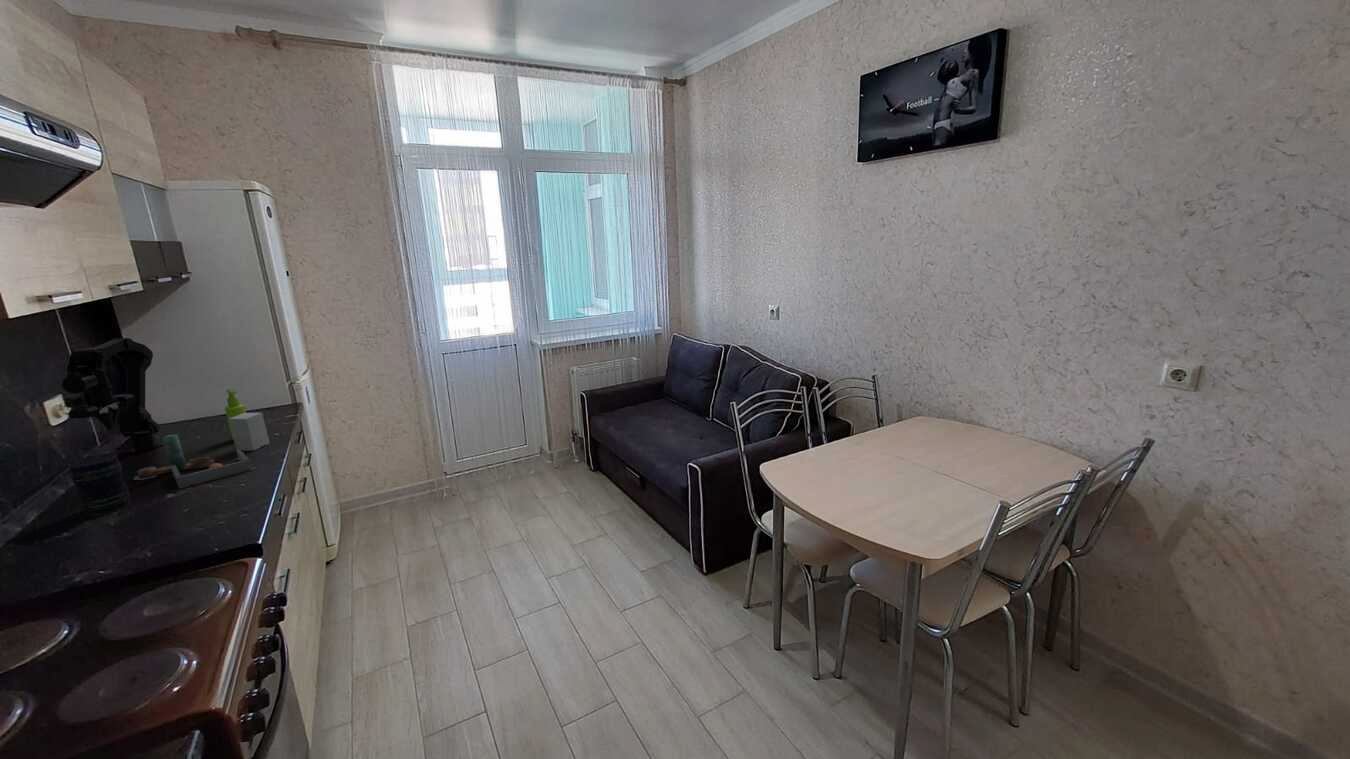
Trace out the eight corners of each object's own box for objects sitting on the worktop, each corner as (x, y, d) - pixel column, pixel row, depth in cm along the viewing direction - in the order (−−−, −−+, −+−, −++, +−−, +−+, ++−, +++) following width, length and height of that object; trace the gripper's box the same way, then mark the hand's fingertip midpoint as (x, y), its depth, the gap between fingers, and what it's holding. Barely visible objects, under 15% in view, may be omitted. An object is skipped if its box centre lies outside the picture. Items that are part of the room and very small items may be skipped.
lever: (137, 479, 174) (126, 444, 171) (141, 474, 178) (131, 440, 175) (212, 466, 183) (203, 432, 180) (215, 461, 187) (206, 429, 184)
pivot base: (137, 482, 173) (137, 481, 172) (130, 477, 176) (130, 477, 176) (166, 474, 178) (165, 473, 178) (158, 470, 182) (158, 469, 182)
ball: (213, 462, 178) (214, 459, 175) (226, 468, 180) (228, 465, 177) (204, 473, 176) (205, 470, 173) (217, 478, 177) (219, 476, 175)
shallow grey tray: (173, 475, 177) (170, 466, 176) (242, 458, 190) (240, 449, 189) (179, 488, 167) (176, 478, 166) (251, 469, 181) (249, 459, 180)
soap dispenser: (236, 442, 205) (223, 392, 200) (230, 439, 209) (218, 390, 204) (254, 438, 210) (243, 389, 205) (249, 434, 214) (237, 386, 209)
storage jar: (100, 517, 151) (84, 468, 147) (74, 514, 153) (57, 465, 149) (140, 500, 160) (126, 454, 156) (115, 498, 162) (100, 452, 158)
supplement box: (270, 443, 204) (263, 412, 200) (253, 451, 197) (246, 418, 193) (252, 443, 204) (245, 412, 201) (235, 451, 197) (227, 418, 194)
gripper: (95, 380, 188) (108, 422, 192) (42, 395, 170) (58, 441, 174) (130, 378, 189) (143, 420, 193) (82, 393, 171) (96, 438, 175)
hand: (110, 429), depth 184 cm, fingers closed
